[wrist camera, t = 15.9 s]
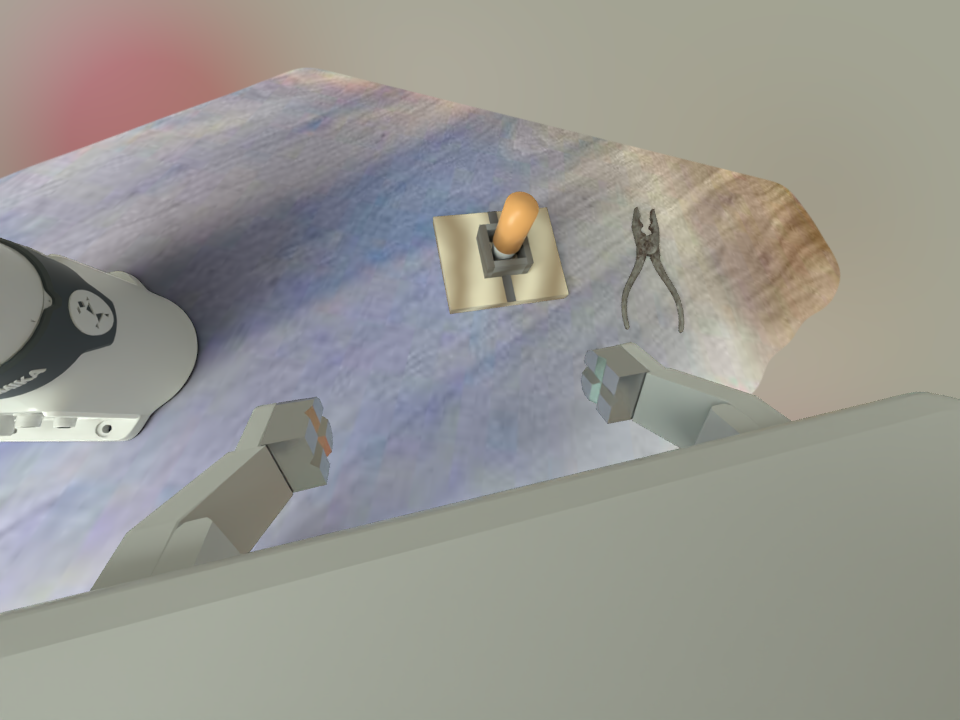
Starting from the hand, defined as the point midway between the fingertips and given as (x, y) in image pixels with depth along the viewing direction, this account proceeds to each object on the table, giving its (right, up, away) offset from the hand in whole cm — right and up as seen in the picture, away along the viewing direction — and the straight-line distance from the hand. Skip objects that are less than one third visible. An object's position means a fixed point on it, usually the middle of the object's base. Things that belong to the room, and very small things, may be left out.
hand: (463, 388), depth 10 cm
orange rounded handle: (+3, +15, +34) cm, 37 cm away
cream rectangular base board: (+3, +14, +36) cm, 39 cm away
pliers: (+24, +14, +40) cm, 48 cm away
